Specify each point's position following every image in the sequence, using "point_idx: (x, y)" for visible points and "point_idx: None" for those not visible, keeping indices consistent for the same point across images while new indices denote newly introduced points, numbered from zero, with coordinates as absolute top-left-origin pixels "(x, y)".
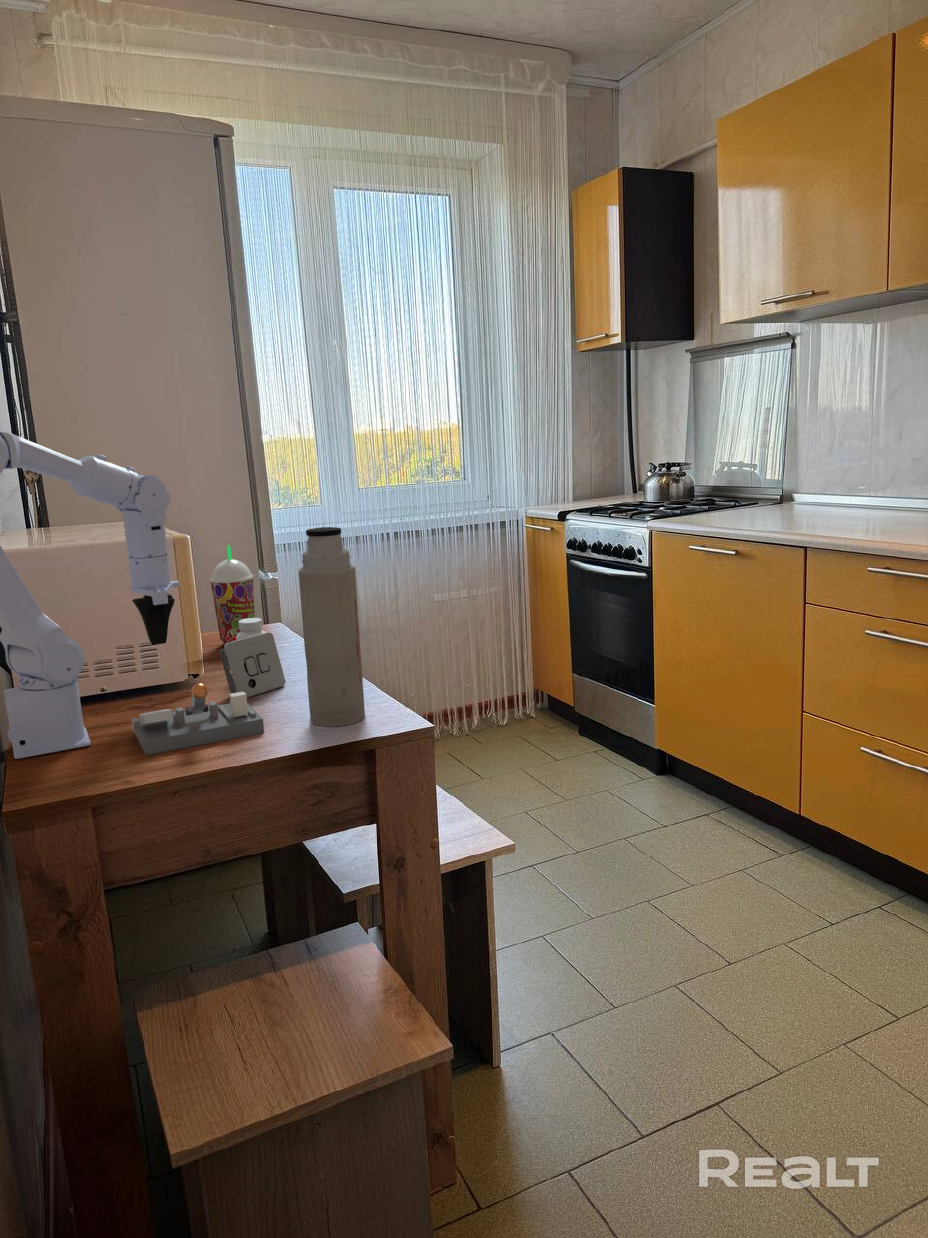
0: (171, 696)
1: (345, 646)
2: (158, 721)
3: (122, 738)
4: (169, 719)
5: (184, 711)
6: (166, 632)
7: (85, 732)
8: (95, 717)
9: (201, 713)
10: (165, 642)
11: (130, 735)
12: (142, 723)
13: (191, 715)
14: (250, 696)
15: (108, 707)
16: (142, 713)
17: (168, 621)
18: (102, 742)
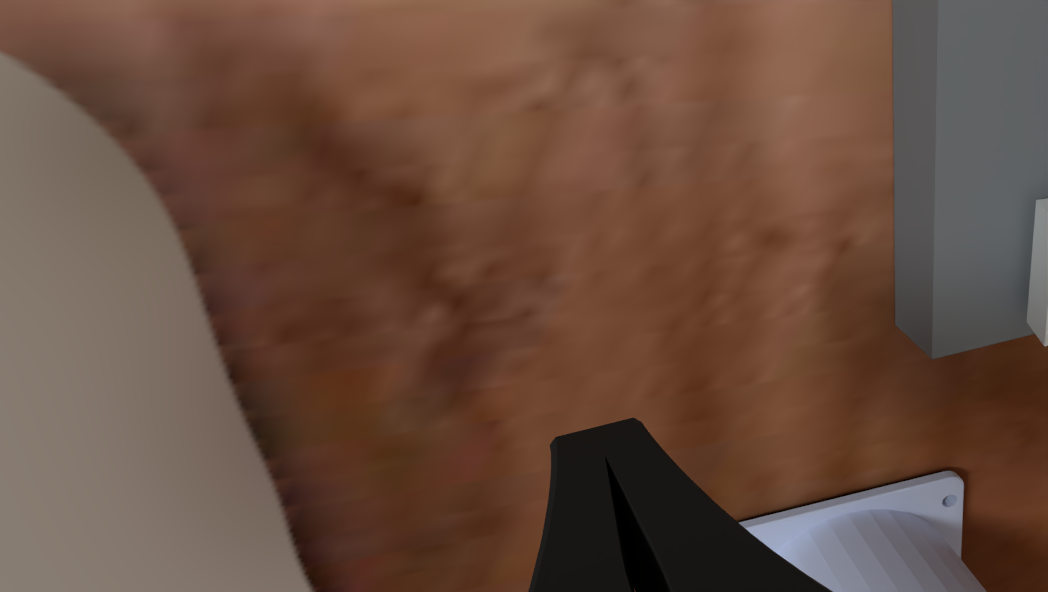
0: (281, 215)
1: None
2: (1026, 239)
3: (921, 366)
4: (1034, 186)
5: (935, 112)
6: (685, 475)
7: (818, 516)
8: (543, 519)
9: (1040, 3)
10: (642, 424)
11: (899, 340)
12: (1006, 312)
13: (1043, 65)
14: None
15: (395, 497)
16: (1045, 333)
17: (759, 540)
18: (924, 433)
